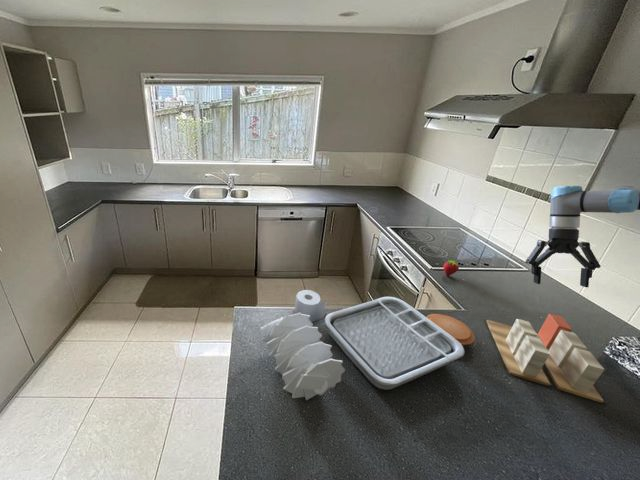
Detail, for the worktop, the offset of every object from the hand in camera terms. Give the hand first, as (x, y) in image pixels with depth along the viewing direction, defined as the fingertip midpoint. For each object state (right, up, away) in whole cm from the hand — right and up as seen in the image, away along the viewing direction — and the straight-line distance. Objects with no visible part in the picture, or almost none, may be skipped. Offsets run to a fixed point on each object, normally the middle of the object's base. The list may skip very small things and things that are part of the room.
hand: (560, 284), depth 104 cm
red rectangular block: (-8, -20, -3) cm, 22 cm away
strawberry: (-16, -4, +39) cm, 42 cm away
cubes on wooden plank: (-11, -24, -9) cm, 28 cm away
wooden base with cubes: (-22, -22, -5) cm, 32 cm away
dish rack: (-68, -21, -6) cm, 72 cm away
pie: (-42, -19, 0) cm, 47 cm away
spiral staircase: (-101, -24, -16) cm, 105 cm away
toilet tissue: (-92, -14, +9) cm, 94 cm away
